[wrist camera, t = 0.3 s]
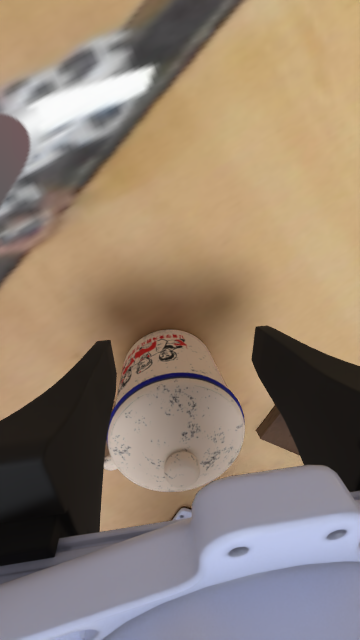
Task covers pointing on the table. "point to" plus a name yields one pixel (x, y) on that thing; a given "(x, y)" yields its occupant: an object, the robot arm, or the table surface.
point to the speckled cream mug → (173, 415)
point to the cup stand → (277, 431)
